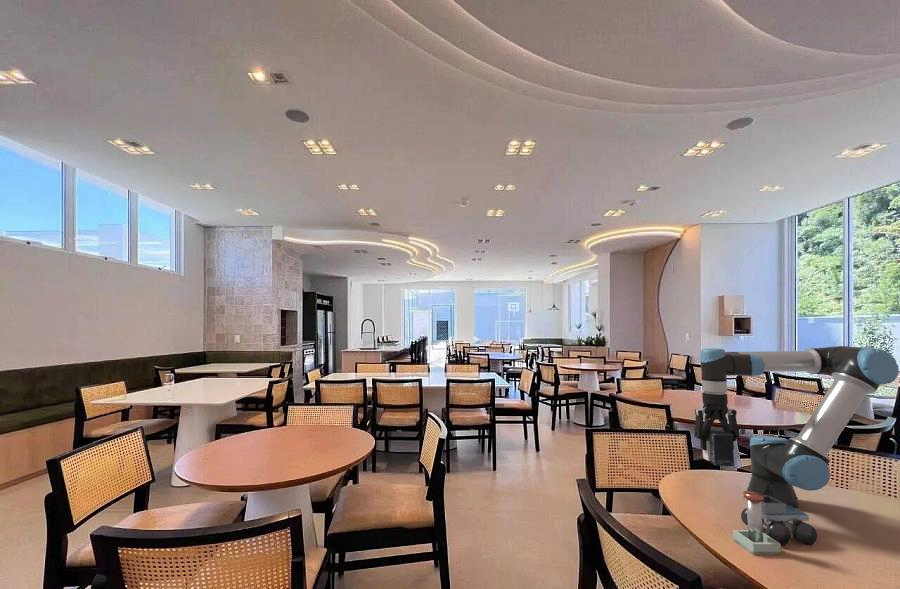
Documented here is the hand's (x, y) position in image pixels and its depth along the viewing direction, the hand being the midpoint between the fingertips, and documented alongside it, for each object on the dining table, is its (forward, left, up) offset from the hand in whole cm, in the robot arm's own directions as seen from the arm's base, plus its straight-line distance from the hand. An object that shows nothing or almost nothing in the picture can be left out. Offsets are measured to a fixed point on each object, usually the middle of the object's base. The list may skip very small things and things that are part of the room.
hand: (717, 459), depth 144 cm
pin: (+4, +21, -17) cm, 28 cm away
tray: (+4, +21, -18) cm, 29 cm away
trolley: (-8, +15, -18) cm, 25 cm away
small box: (0, 0, -1) cm, 1 cm away
